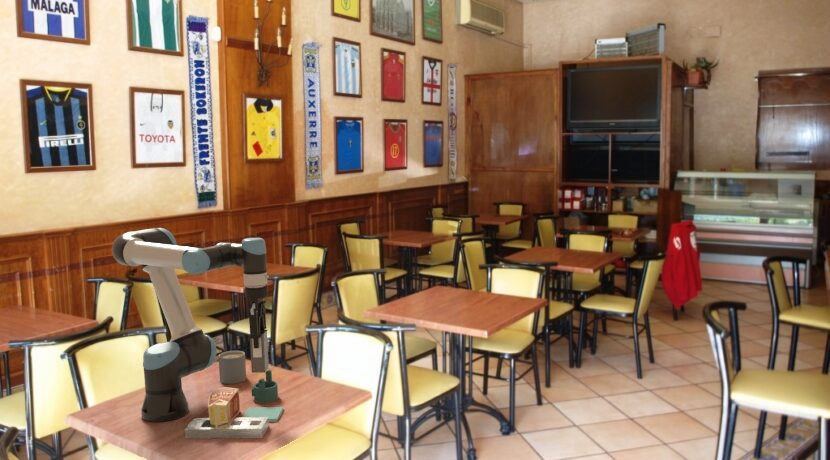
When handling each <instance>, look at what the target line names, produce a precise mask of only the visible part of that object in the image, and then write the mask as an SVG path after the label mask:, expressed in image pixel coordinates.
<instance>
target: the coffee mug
mask: <svg viewBox="0 0 830 460" xmlns="http://www.w3.org/2000/svg"><path fill="white" fill-rule="evenodd" d="M218 368H219V369H218V374H219V382H220V383H221V384H224V385H225V384H226V385H233V384H239V383H242V381H243V382H244V381H246V380H247V368H246V353H245V352H244V351H243V350H242V351H241V350H229V351H224V352H221V353H220V354H218Z"/></svg>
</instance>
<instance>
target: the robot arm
mask: <svg viewBox="0 0 830 460" xmlns="http://www.w3.org/2000/svg"><path fill="white" fill-rule="evenodd" d="M111 254H112V257H113V258H114V259H113V260H115V262H117V263H118V264H119V265H120V264H121V265H122V266H129V267H130V266H131V267H138V266H141V267H140V268H141V269H142V271H143V272H145V273H147V274H148V275H149V278H150V280H151V283H152V286H153V288H154V291H155V294H156V298H158V301H159V303H160V307H161V310H162V312H163V315H164V318H165V321H166V323H167V325H168V328H169V331H170V333H171V338H170V340H169V341H164V342H159V343H156V344H153V345H151V346H150V347H148V348H146V349H145V350H144V352H143V357H142V360H143V362H142V366H143V375H144V390H145V394H144V395H145V396H144V399H143V404H142V407H141V412H140V413H141V418H142V419H143V420H144V421H147V422H152V423H160V422H168V421H173V420H176V419H179V418H182V417H183V416H185V415H187V413H189V410H190V409H189V402H188V400H187V397H186V395H185V393H184V391H183V385H182V379H183V378H184V377H188V376H189V375H192V374H195V373H197V372H202V371H203V370H205V369H207V368H209V367H211V366H212V365H213V364H214V362H215V360H216V357H217V345H216V342H215V340H214V339H213V338H212V337H211V336H210V335H209V334H205V333H204V331H203V328H201V327H198V326H196V323H195V320H194V317H193V315H192V312H191V309H190V306H189V304H188V301H187V299H186V297H185V294H184V291H183V288H182V286H181V283H180V281H179V278H178V275H177V273H176V270H182V271H185V272H186V273H187V274H189V275H201V274H204V273H208V272H211V271H215V270H219V269H224V268H228V267H242V271H243V285H244V288H243V289H244V291H243V292H244V297H245V299H247V300H250V303H249V308H248V309H247V312H248V320H249V321H248V322H249V337H248V338H249V339H250V338H252V343H253V357H262V346H261V337H260V330H267V313H266V300H265V298H268V296H269V287H268V285H267V284H268V278H269V277H270V276H269V275H268V274H267V272H268V269H267V268H268V267H267V247H266V241H265V239H264V238H262V237H246V238H244V239H242V240H241V243H238V242H237V243H235V242H229V241H225V242H219V243H217V244H216V245H214V246H208V247H193V246H192V247H191V246H186V245H185V246H184V245H178V244H177V241H176V238H175V237H174V235H173V234H172V232H170V230H168V229H165V228H162V227H151V228H148V229H147V228H146V229H141V230H135V231H134V230H133V231H127V232H124V233H121V234H120V235H118V236H117V237H116V238H115V239H114V241H113V243H112V245H111Z"/></svg>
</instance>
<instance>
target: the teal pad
mask: <svg viewBox="0 0 830 460" xmlns="http://www.w3.org/2000/svg"><path fill="white" fill-rule="evenodd" d="M284 408H285V407H284V406H275V407H274V406H272V407H271V406H267V407H266V406H265V407H264V406H263V407H262V406H260V407H259V406H258V407H256V406H254V407H251V406H250V407H248V408H247V409H246V410H245V412H244V414H243V415H241V418H243V417H268V423H270V422H271V423H274V422H275V423H277V422H278V421H279V419H280V418H281V415H282V414H283V412H284V411H285V410H284Z"/></svg>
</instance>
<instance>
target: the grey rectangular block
mask: <svg viewBox="0 0 830 460" xmlns="http://www.w3.org/2000/svg"><path fill="white" fill-rule="evenodd" d="M260 337H261V346H262V357H253V343H252V338H249V347H250V364H251V366H250V368H251V373H252V374H253V373H260V374H261V373H266V371H267V370H269V349H268V329H265V330H260Z"/></svg>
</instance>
